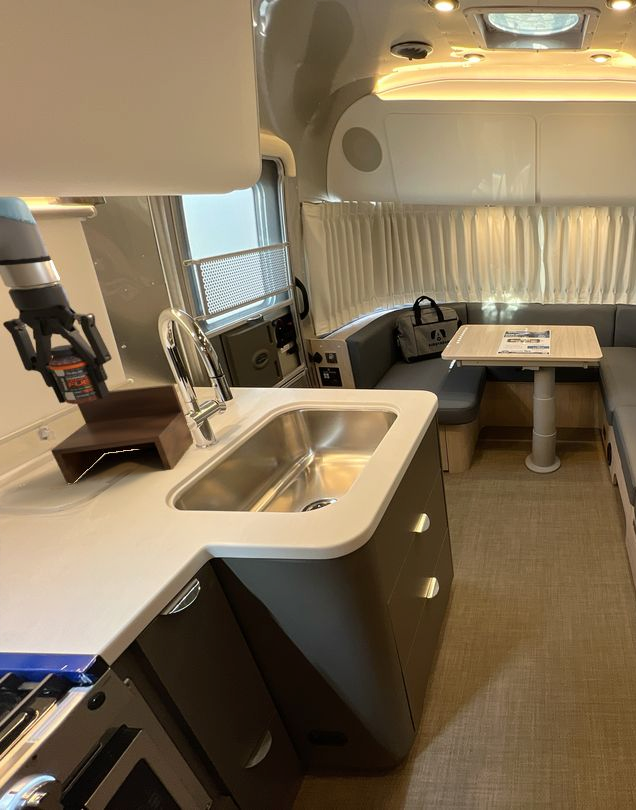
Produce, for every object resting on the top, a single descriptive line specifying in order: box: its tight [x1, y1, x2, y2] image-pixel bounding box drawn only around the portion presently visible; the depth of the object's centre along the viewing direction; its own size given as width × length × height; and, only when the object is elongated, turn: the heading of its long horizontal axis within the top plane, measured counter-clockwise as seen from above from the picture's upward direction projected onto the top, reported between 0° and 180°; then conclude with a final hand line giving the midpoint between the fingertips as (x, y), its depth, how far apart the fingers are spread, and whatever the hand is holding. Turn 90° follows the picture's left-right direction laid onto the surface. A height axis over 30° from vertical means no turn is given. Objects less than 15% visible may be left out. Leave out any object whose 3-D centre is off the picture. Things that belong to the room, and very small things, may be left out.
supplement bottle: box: [49, 344, 98, 405], centre depth 98 cm, size 6×6×11 cm
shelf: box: [50, 384, 194, 485], centre depth 113 cm, size 15×20×16 cm
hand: (85, 398), depth 100 cm, fingers closed on supplement bottle, 6 cm apart
